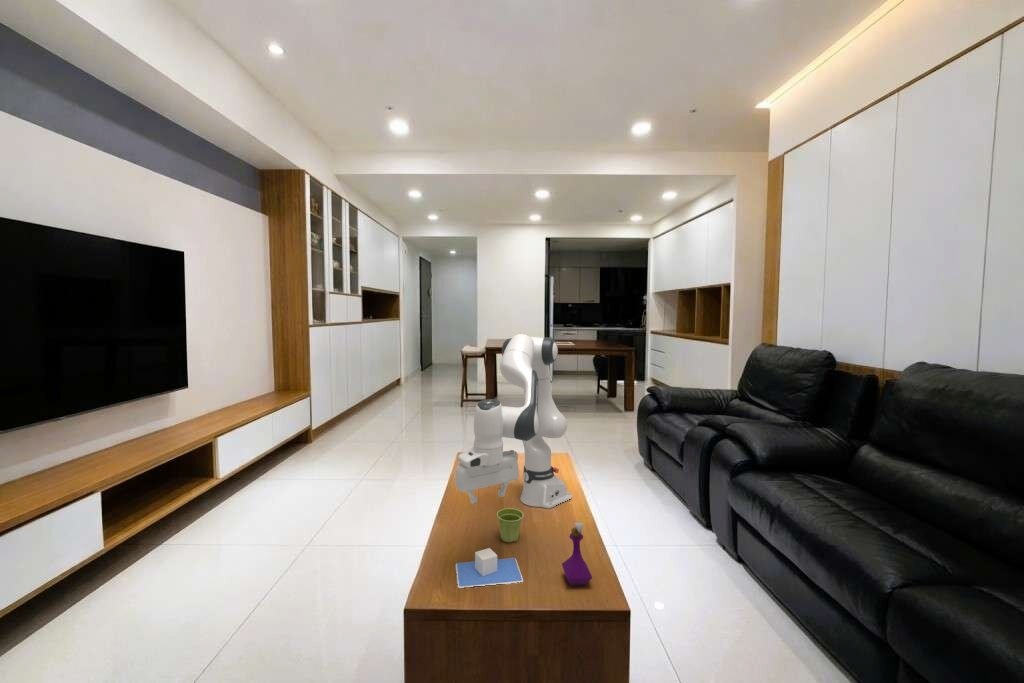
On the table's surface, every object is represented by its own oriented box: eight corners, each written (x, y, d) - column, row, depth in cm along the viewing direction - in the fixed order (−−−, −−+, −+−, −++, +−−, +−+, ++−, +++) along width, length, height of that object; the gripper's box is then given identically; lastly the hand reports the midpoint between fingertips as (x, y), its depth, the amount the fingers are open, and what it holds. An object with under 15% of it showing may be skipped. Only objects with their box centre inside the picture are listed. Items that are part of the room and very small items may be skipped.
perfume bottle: (561, 573, 130) (562, 516, 129) (585, 573, 131) (587, 515, 130) (566, 589, 123) (568, 528, 122) (592, 588, 123) (594, 528, 122)
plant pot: (526, 534, 153) (526, 510, 153) (518, 547, 144) (518, 522, 144) (502, 529, 156) (502, 506, 156) (492, 542, 147) (492, 517, 147)
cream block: (489, 563, 134) (489, 547, 134) (497, 571, 130) (497, 555, 130) (475, 567, 131) (475, 552, 131) (482, 576, 127) (482, 560, 127)
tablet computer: (515, 560, 138) (515, 556, 138) (524, 585, 126) (524, 580, 126) (455, 566, 134) (455, 562, 134) (457, 592, 122) (457, 587, 122)
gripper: (512, 446, 137) (511, 488, 138) (452, 456, 126) (452, 502, 127) (523, 452, 131) (522, 495, 132) (461, 463, 121) (461, 511, 122)
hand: (487, 499), depth 129 cm, fingers open, 8 cm apart
